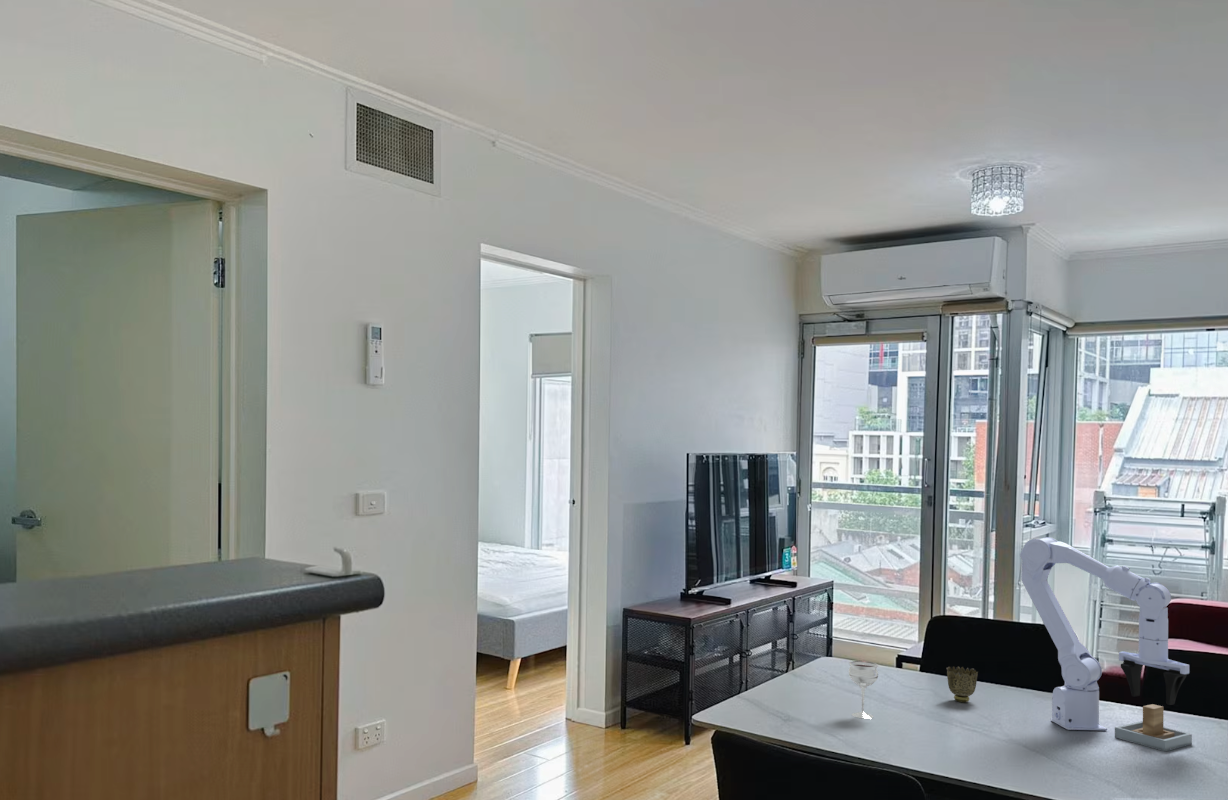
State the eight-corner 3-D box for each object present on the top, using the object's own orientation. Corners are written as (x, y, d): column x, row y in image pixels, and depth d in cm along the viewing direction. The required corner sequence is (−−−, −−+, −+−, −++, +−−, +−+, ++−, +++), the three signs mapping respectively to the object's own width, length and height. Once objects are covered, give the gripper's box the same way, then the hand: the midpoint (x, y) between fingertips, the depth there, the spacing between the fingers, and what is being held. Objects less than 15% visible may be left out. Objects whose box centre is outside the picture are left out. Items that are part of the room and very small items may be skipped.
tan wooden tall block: (1163, 738, 211) (1163, 706, 211) (1153, 741, 209) (1153, 708, 209) (1152, 735, 213) (1152, 704, 213) (1142, 738, 211) (1142, 706, 211)
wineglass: (845, 717, 222) (846, 665, 223) (849, 710, 228) (850, 659, 229) (875, 721, 219) (876, 668, 220) (879, 714, 226) (880, 662, 226)
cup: (979, 706, 236) (980, 673, 236) (948, 703, 237) (949, 671, 238) (974, 698, 243) (974, 667, 243) (944, 696, 244) (944, 664, 245)
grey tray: (1191, 744, 209) (1191, 734, 209) (1165, 751, 203) (1165, 740, 203) (1141, 730, 219) (1141, 721, 219) (1114, 737, 213) (1114, 727, 213)
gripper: (1196, 643, 208) (1196, 705, 207) (1130, 631, 220) (1130, 690, 220) (1179, 645, 204) (1179, 709, 204) (1113, 633, 217) (1113, 693, 216)
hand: (1152, 700), depth 211 cm, fingers open, 7 cm apart
